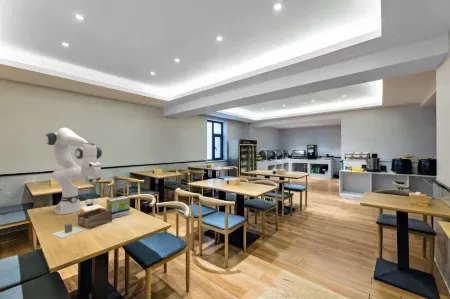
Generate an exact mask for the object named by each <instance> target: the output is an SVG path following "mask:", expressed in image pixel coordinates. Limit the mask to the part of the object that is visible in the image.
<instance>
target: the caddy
mask: <svg viewBox="0 0 450 299" xmlns="http://www.w3.org/2000/svg"><path fill="white" fill-rule="evenodd" d="M112 221H113V219H112V211H111V210H106V208H100V207H99V208H95V209H92V210H87V211H85V212H80V213H78V214H77V226H79V227H83V228H86V229H89V230H91V229H94V228H97V227H100V226H103V225H105V224H108V223H110V222H112Z"/></svg>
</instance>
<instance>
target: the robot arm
mask: <svg viewBox="0 0 450 299" xmlns="http://www.w3.org/2000/svg"><path fill="white" fill-rule="evenodd" d="M44 141H45V143H46V144H47V145H48V146H52V148H53V149H52V150H53V154H54V157H55V160H56V163H57V165H59V166H60V167H63V168H60V169H57V170H54V171H53V172H52V176H51V178H52V179H53V181H55V182H56V183H58V185H59V186H60V187H61V194H62V196H61V197H60V198H61V200H60V201H59V202H58V204H57V205H56V206H55V208H56V209H54V210H53V213H55V214H57V215H68V214H75V213H77V212H80V211H81V210H80V207H82V206H81V199H80V200H79V198H80V196H79V191H78V190H79V189H78V188H79V187H78V185H76V184H74V183H73V182H72V181H74V180H75V181H76V180H78V179H82V178H84V180H85V182H89V181H90V179H89V177H92V178H93V179H92V183H96V182H97V179H98V177H101V174H102V173H101V172H102V168H101V166H102V164H101V162H99V161H98V159H100V158H101V157H102V155H103V150H102V149H101V148H100V147H98V146H97V144H95V143H91V142H90V141H89V140H87V139H85V138H83V137H82V136H80V135H78V134H76V133H75V132H74V131H73V130H72V129H70V128H68V127H61V128H59V129H58V130H57V132H49V133H48V132H47V133H46V134H45V136H44ZM69 147H76V149H75V151H74V157H75V158H76V159H78V160H82V163H83V164H82V165H81V166H80V165H79V164H77V163H76V162H75V160H74V159H73V157H72V154H71V151H70V150H69Z"/></svg>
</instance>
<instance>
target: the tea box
mask: <svg viewBox="0 0 450 299" xmlns="http://www.w3.org/2000/svg"><path fill="white" fill-rule="evenodd" d="M130 202H131V200H130V197H128V196H126V195H122V196H117V197H111V198H107V199H106V208H105V209H106V210H111V211H112V220H113V219H115V218H116V219H117V218H119V217H123V216H127V215H130V212H131V210H130V207H131V205H130Z"/></svg>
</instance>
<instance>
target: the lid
mask: <svg viewBox="0 0 450 299" xmlns="http://www.w3.org/2000/svg"><path fill="white" fill-rule="evenodd" d="M84 231H85V229H83V228H79V227H77V226H73V223H66V224H64V229H63V230H60V231H57V232H54V233H51V235H52V236H54V237H57V238H60V239H65V238H67V237H70V236H72V235H76V234H78V233H81V232H84Z"/></svg>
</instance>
